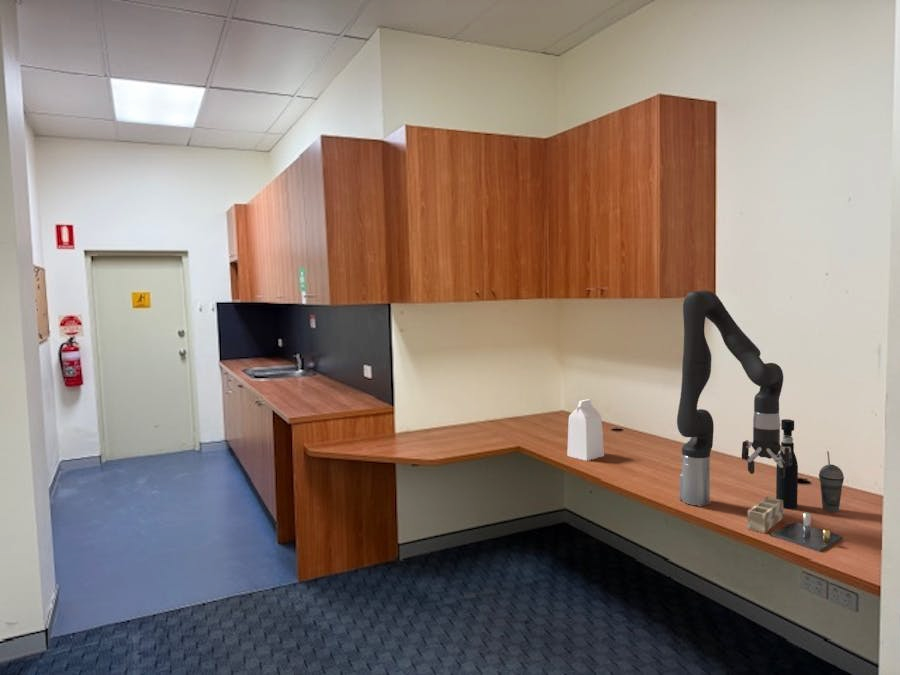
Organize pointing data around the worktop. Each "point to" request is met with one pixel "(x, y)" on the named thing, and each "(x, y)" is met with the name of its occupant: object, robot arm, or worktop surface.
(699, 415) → the robot arm
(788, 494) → the wine bottle
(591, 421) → the milk
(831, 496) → the grey tapered rounded cylinder
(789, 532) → the mounting plate
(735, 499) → the worktop surface
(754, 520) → the bar
